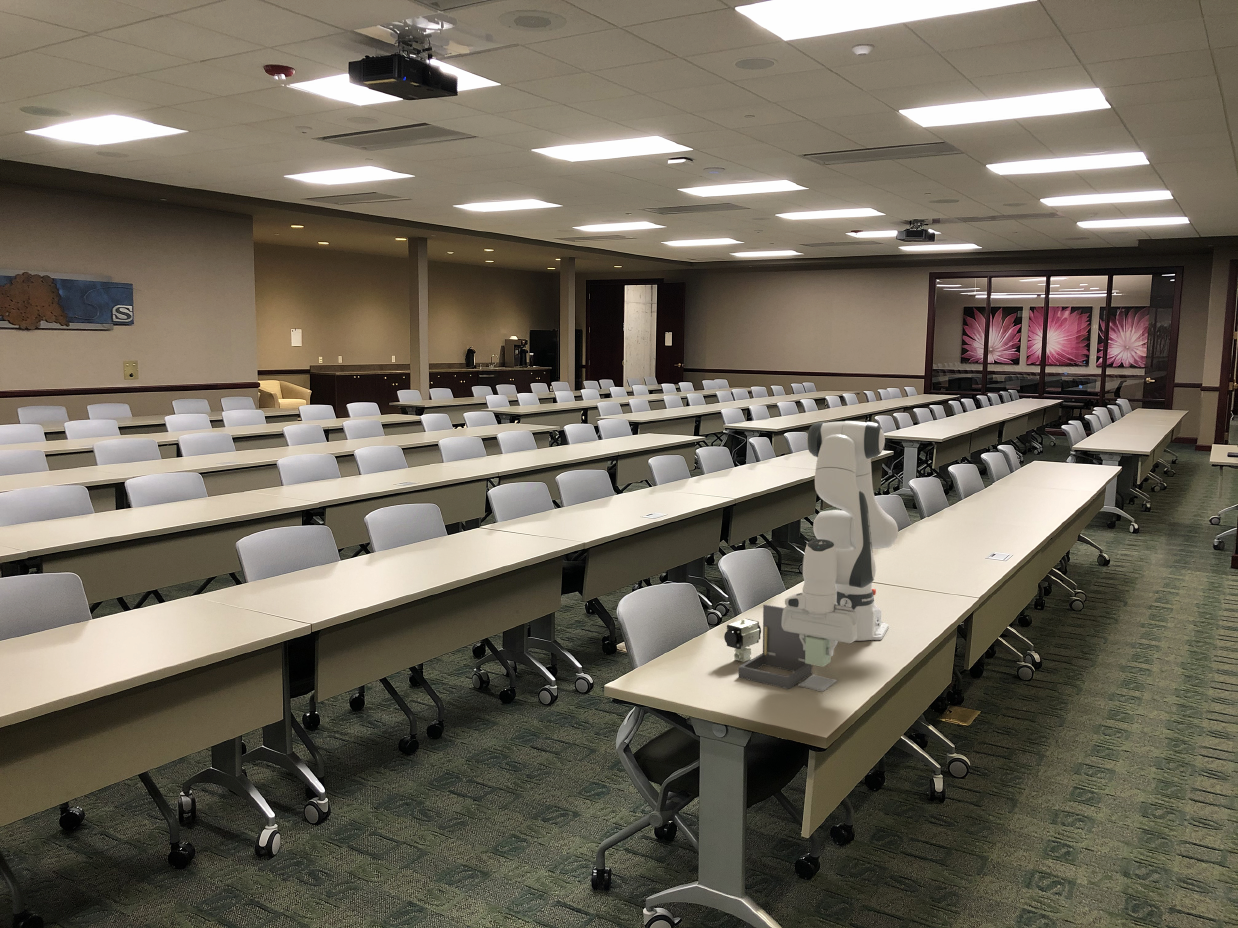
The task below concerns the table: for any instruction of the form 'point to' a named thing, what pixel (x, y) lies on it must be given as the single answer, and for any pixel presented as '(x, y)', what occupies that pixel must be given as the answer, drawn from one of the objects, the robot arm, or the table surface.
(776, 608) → the case
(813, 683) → the pad
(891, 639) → the table surface
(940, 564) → the table surface
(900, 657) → the table surface
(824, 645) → the block
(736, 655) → the pneumatic valve
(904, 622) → the table surface
